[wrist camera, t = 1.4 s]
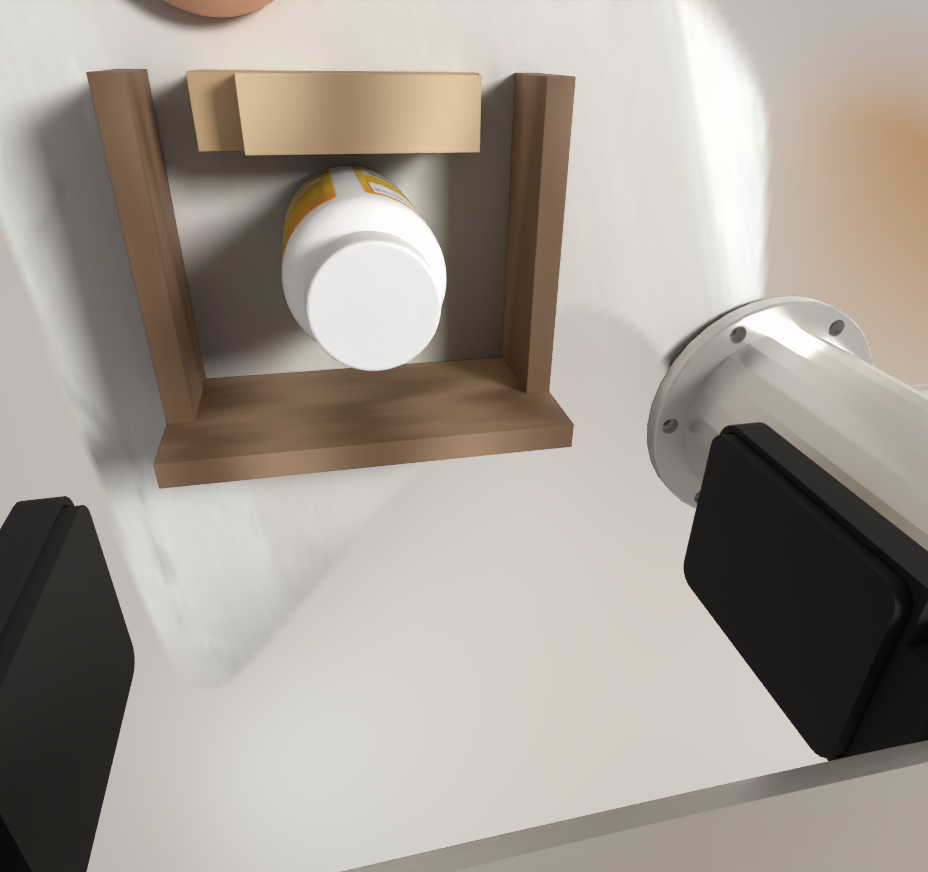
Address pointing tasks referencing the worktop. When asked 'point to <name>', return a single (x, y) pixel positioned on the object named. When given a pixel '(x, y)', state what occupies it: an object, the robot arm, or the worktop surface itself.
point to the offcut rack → (348, 390)
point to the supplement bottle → (361, 269)
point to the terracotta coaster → (219, 7)
